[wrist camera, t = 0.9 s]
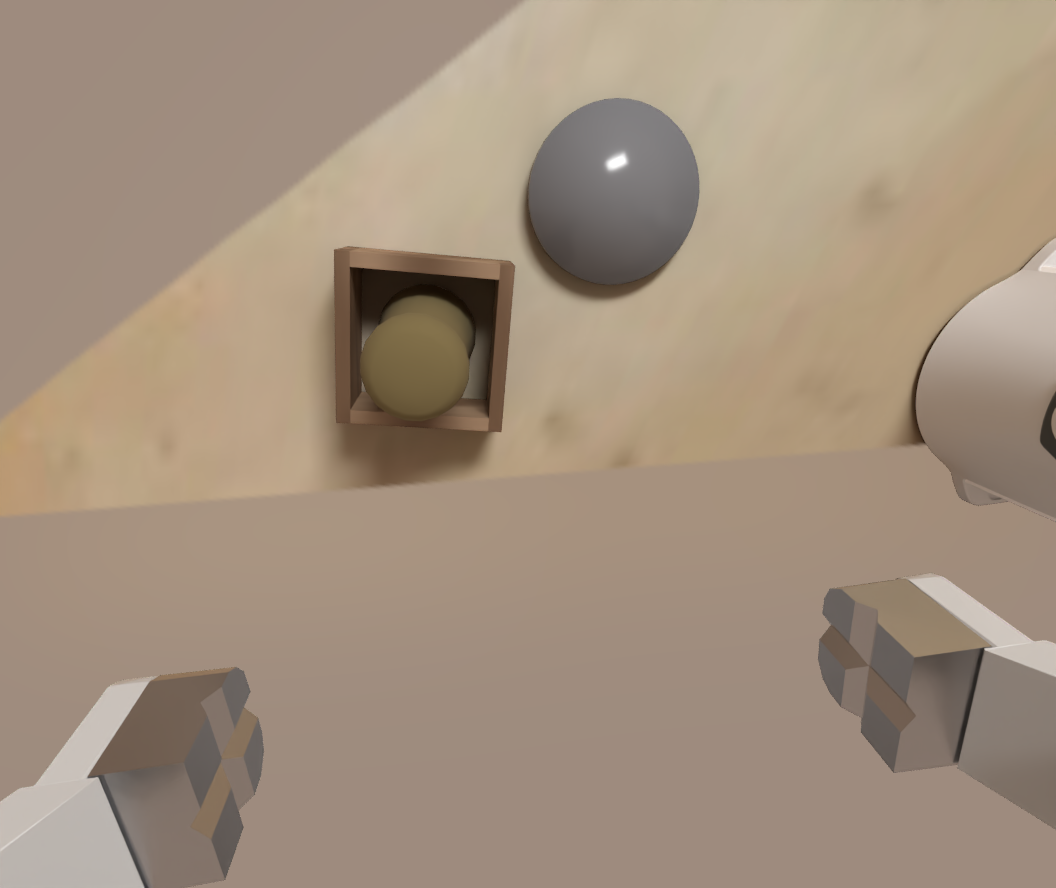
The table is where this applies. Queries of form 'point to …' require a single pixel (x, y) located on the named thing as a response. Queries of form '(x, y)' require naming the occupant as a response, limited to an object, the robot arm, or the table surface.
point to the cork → (419, 353)
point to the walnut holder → (349, 336)
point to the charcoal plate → (613, 191)
